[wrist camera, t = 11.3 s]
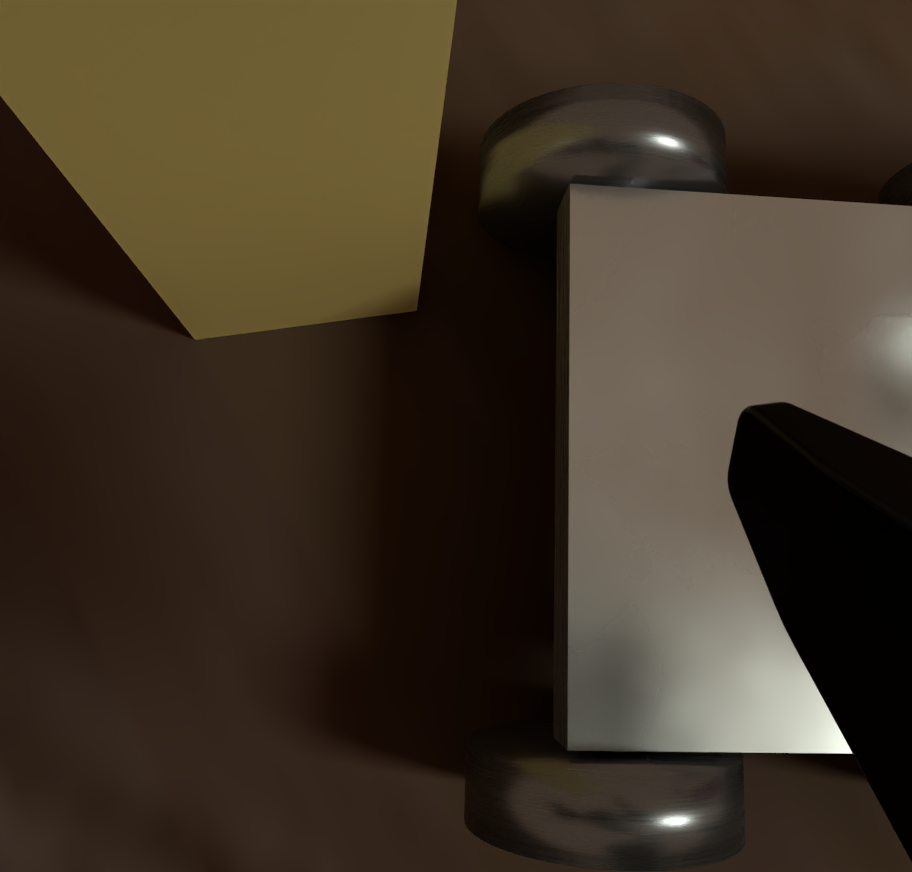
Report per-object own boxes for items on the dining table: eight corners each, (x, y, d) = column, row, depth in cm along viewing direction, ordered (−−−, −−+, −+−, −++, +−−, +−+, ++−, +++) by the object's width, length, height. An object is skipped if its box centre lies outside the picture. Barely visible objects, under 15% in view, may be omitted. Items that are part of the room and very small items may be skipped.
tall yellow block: (416, 310, 19) (492, -270, 6) (194, 339, 19) (-261, -232, 5) (384, 110, 20) (388, -803, 7) (170, 132, 19) (-284, -812, 6)
